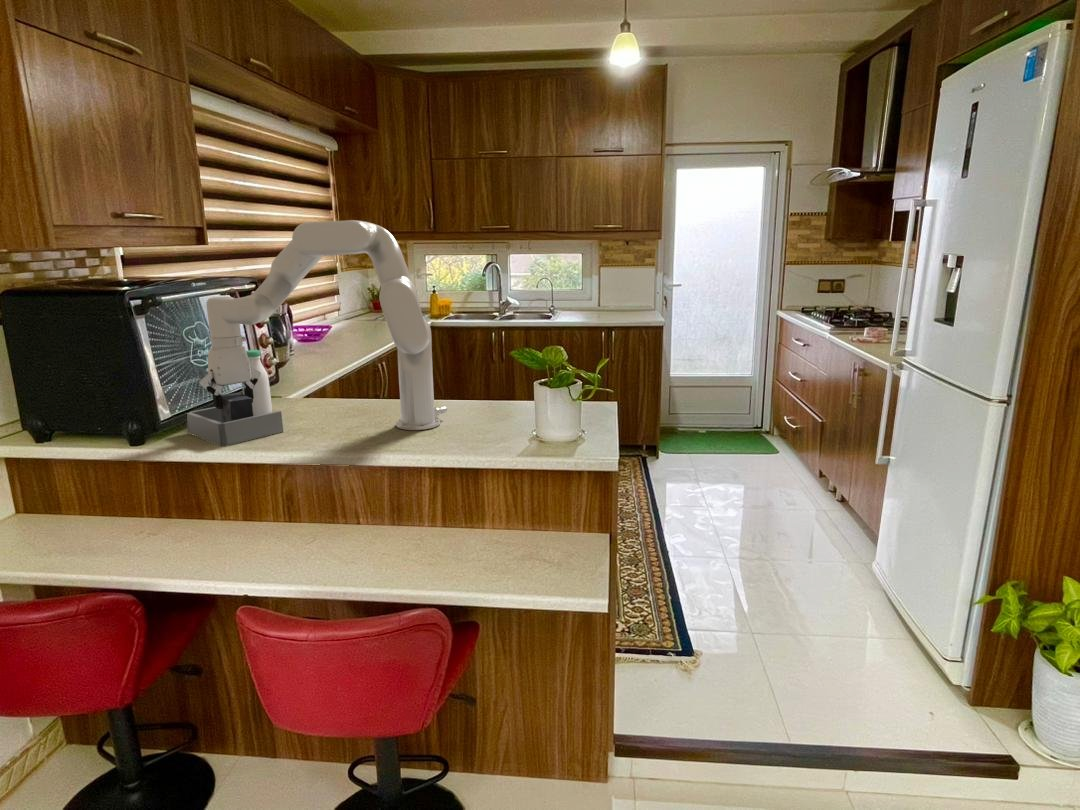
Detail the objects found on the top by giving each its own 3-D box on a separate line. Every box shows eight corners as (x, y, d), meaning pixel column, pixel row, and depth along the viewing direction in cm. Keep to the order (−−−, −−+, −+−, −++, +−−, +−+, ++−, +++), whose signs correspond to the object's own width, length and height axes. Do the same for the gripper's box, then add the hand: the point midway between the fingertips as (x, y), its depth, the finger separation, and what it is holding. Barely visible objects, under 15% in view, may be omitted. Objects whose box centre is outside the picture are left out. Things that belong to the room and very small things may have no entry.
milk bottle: (277, 411, 210) (270, 348, 205) (264, 418, 203) (257, 352, 198) (253, 411, 211) (246, 348, 206) (240, 417, 203) (232, 352, 199)
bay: (246, 420, 200) (244, 401, 198) (283, 432, 187) (281, 411, 186) (187, 433, 187) (184, 412, 185) (222, 446, 174) (220, 424, 173)
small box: (257, 434, 186) (252, 397, 183) (233, 438, 182) (228, 401, 179) (244, 426, 194) (240, 391, 191) (221, 430, 190) (216, 395, 187)
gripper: (250, 338, 190) (257, 397, 195) (187, 345, 177) (196, 409, 181) (264, 340, 186) (270, 401, 190) (200, 348, 173) (209, 413, 177)
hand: (234, 405), depth 186 cm, fingers open, 8 cm apart
